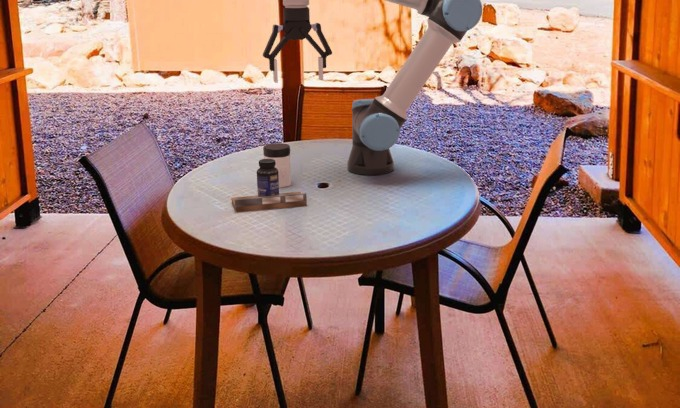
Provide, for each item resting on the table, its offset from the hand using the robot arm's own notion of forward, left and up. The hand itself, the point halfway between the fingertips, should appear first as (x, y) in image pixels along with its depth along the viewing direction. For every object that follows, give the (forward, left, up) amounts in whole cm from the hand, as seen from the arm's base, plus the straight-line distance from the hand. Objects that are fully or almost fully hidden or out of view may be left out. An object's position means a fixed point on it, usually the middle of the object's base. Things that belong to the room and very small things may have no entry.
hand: (298, 80), depth 231 cm
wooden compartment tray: (+13, +17, -32) cm, 38 cm away
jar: (+7, -2, -32) cm, 33 cm away
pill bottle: (+13, +16, -30) cm, 37 cm away
